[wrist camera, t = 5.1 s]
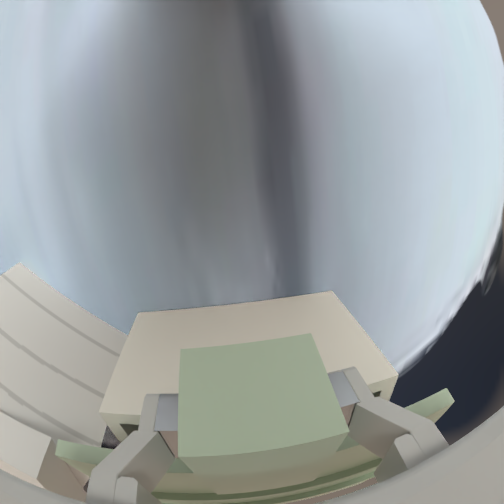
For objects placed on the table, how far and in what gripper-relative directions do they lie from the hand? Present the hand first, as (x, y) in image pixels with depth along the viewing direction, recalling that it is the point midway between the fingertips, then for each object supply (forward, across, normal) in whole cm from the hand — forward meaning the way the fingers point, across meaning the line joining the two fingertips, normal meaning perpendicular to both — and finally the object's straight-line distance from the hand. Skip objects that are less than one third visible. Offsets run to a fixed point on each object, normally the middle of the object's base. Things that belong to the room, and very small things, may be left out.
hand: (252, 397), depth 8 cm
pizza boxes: (+16, +25, +6) cm, 30 cm away
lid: (+2, 0, +9) cm, 10 cm away
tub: (+15, 0, +13) cm, 20 cm away
